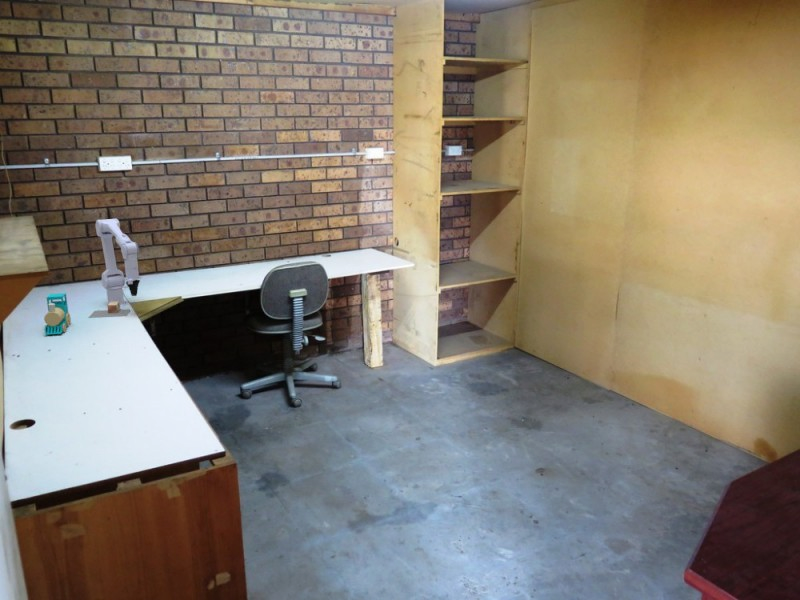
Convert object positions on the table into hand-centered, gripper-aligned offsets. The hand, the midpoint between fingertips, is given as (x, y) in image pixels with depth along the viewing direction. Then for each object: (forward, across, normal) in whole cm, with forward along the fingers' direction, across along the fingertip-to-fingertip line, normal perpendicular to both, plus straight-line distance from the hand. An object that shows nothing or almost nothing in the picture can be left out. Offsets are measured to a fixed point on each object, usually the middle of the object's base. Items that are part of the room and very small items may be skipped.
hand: (134, 295), depth 298 cm
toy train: (+10, -21, +29) cm, 37 cm away
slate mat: (+9, +2, +12) cm, 15 cm away
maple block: (+7, +2, +11) cm, 13 cm away
